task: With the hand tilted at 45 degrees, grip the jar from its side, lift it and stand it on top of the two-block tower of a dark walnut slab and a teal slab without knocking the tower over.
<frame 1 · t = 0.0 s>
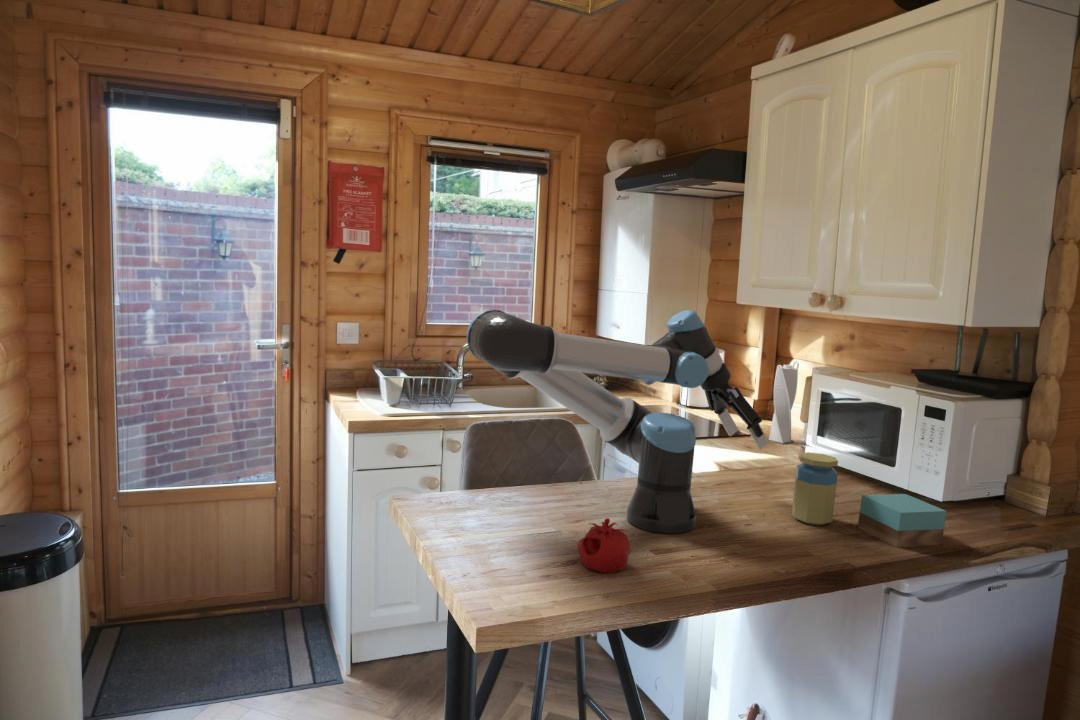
hand: (748, 439, 186), 15 cm above the countertop, tool tilted 35°, fingers open, 13 cm apart
jar: (811, 520, 175), on the countertop
skyscraper: (779, 442, 257), on the countertop
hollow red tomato: (602, 566, 140), on the countertop
tower base: (898, 537, 167), on the countertop, touching tower top
tower top: (900, 520, 167), point 4 cm above the countertop, touching tower base
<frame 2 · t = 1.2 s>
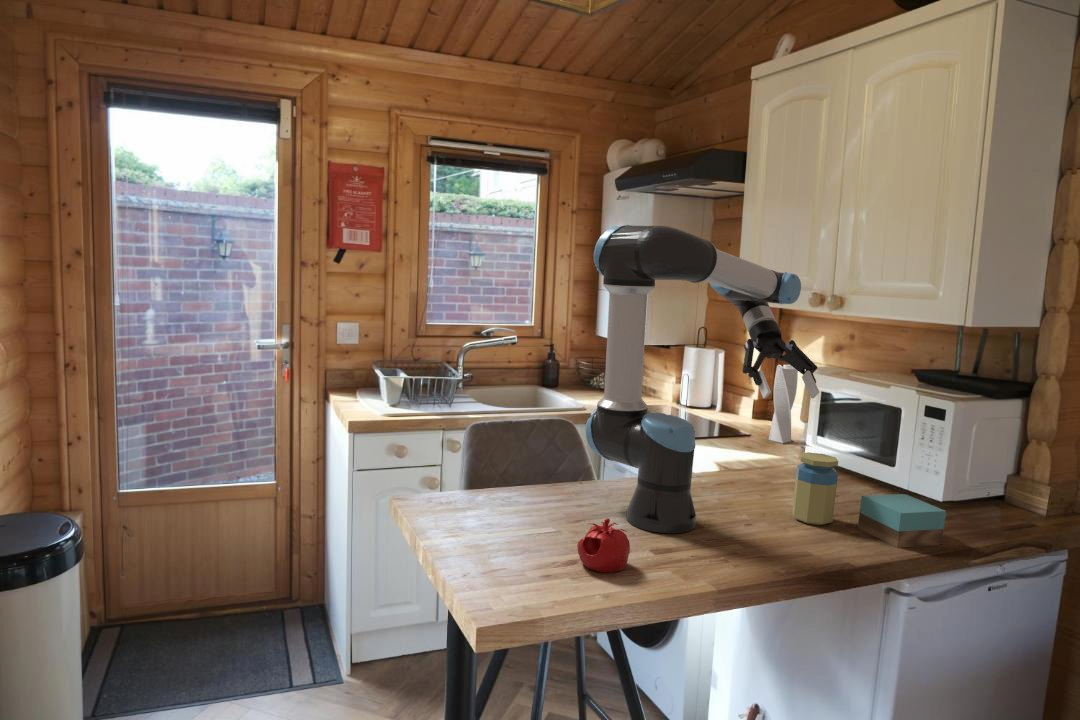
hand: (791, 395, 183), 27 cm above the countertop, tool tilted 45°, fingers open, 13 cm apart
nothing on the countertop moved.
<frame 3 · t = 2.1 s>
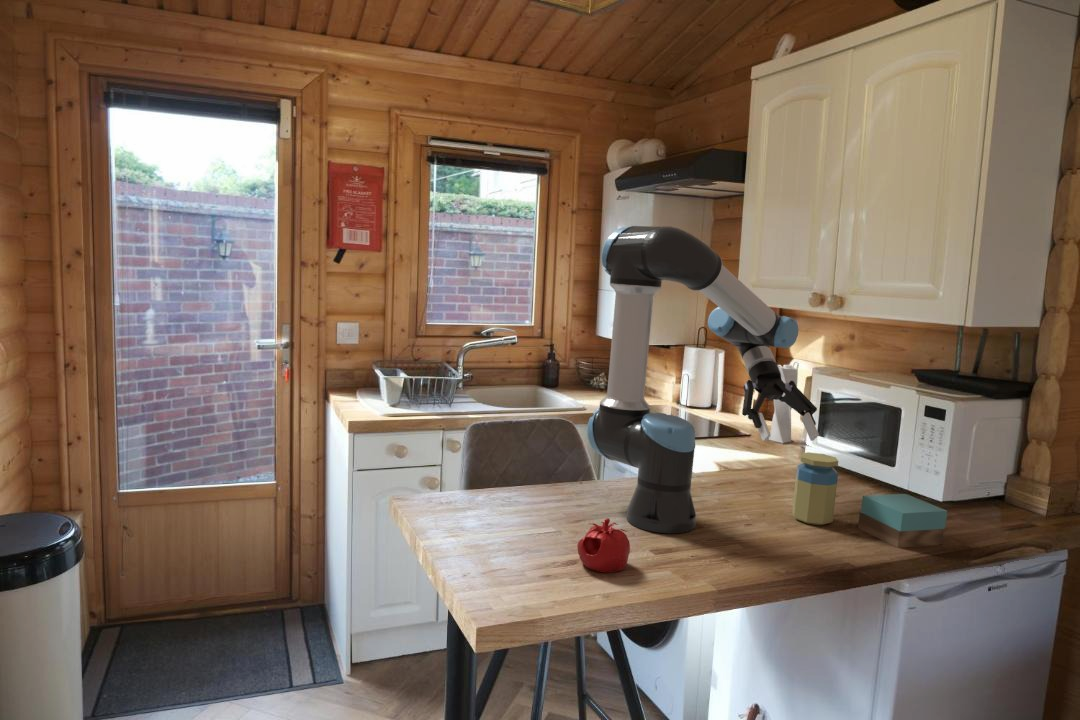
hand: (791, 438, 183), 17 cm above the countertop, tool tilted 45°, fingers open, 13 cm apart
nothing on the countertop moved.
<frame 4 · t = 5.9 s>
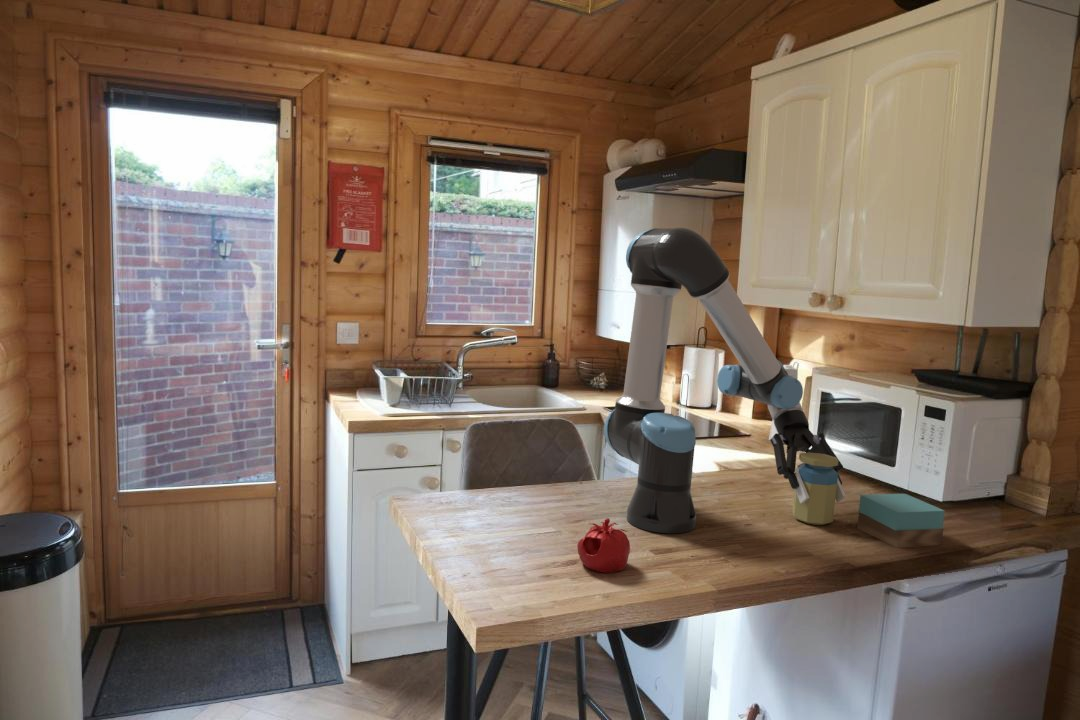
hand: (823, 499, 171), 6 cm above the countertop, tool tilted 45°, fingers closed on jar, 9 cm apart
jar: (811, 520, 174), on the countertop, touching gripper
everything else where it was.
when the fingers open (14 cm above the countertop, at t = 11.8 s): jar moves 2 cm, resting on tower top.
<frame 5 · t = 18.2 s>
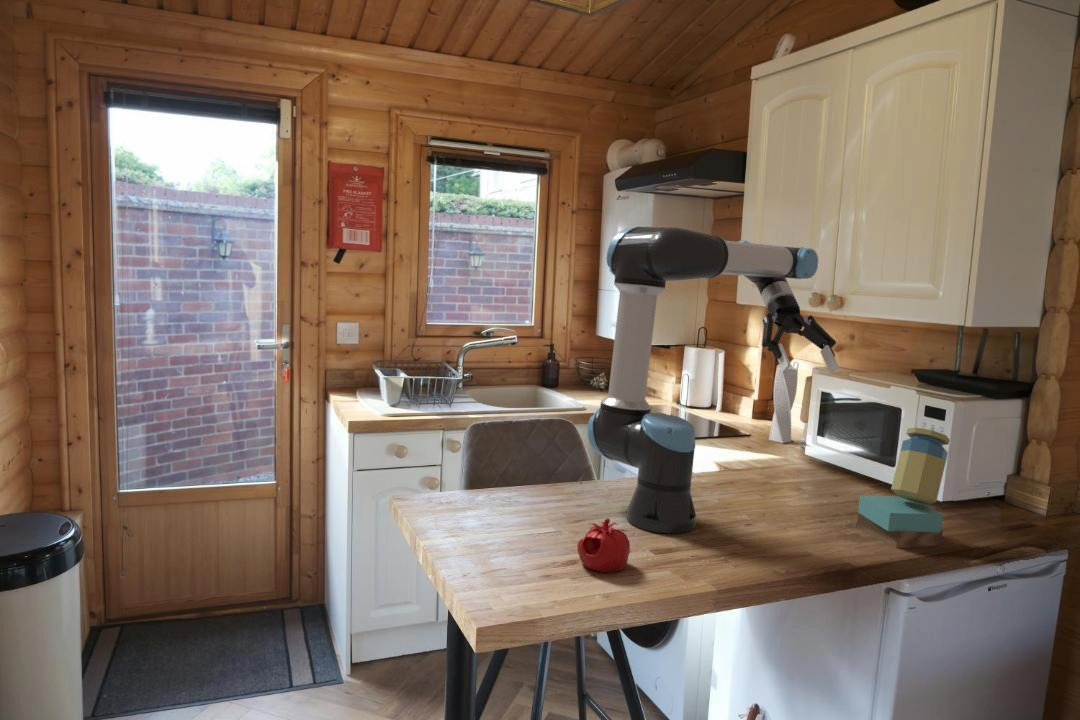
hand: (810, 368, 184), 34 cm above the countertop, tool tilted 45°, fingers open, 13 cm apart
jar: (912, 499, 164), point 9 cm above the countertop, touching tower top
tower top: (898, 522, 166), point 3 cm above the countertop, touching jar, tower base
everything else where it was.
at the end: jar inside the target area on the tower top (2.3 cm from its centre), point 4.8 cm above the tower top's base; jar tilted 13°; tower top 0.5 cm off-centre on the tower base, point 4.0 cm above the tower base's base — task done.
